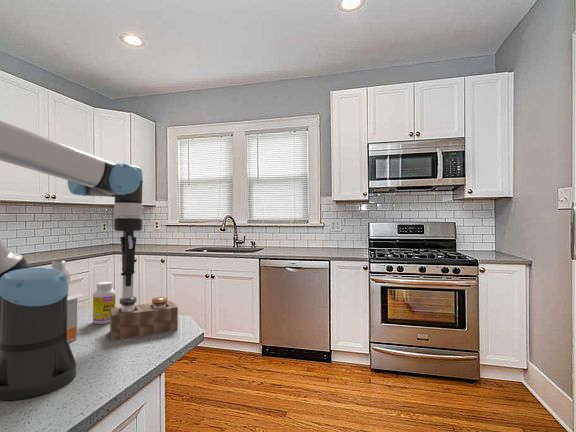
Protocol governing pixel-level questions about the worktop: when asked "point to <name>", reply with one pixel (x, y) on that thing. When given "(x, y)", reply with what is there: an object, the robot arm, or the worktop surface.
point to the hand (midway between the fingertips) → (127, 296)
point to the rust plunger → (159, 302)
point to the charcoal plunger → (128, 304)
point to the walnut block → (143, 320)
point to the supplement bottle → (103, 302)
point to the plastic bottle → (62, 269)
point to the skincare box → (71, 318)
